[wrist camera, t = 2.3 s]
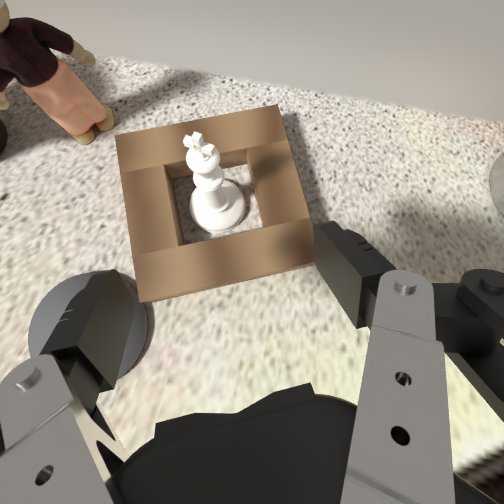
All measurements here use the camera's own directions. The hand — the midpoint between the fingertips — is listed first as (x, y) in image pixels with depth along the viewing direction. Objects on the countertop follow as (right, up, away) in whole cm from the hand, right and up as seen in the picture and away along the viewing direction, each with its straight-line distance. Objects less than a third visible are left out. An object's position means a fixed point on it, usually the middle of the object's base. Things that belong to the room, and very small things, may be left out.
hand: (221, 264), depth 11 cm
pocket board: (-2, +5, +13) cm, 14 cm away
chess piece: (-2, +4, +13) cm, 14 cm away
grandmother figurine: (-14, +12, +14) cm, 23 cm away
